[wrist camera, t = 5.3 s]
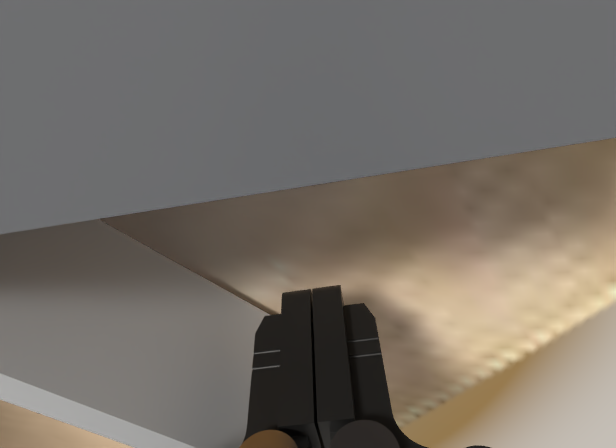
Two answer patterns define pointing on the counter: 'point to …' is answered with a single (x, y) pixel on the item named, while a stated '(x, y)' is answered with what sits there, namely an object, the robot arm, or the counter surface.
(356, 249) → the counter surface
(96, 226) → the side door
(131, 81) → the camera body
